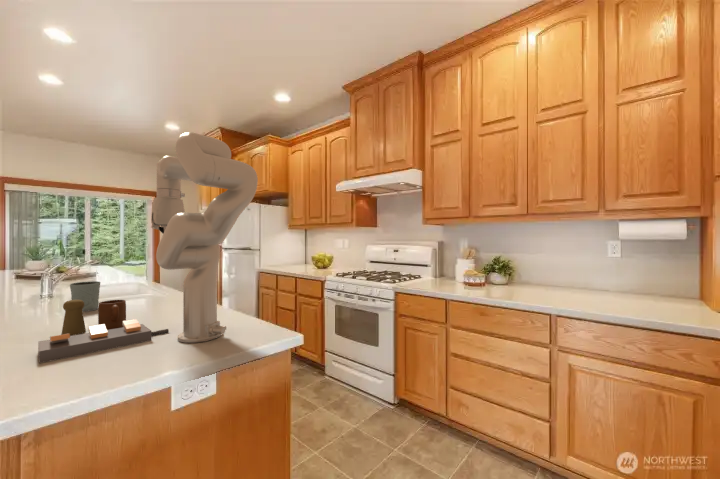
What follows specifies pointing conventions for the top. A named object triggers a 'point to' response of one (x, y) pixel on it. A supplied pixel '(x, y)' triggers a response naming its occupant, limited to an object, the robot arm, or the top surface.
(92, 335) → the middle rocker
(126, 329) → the block
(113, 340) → the power strip
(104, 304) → the mug
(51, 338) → the rocker
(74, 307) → the pepper mill
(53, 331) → the top surface
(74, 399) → the top surface
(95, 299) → the grey cup
